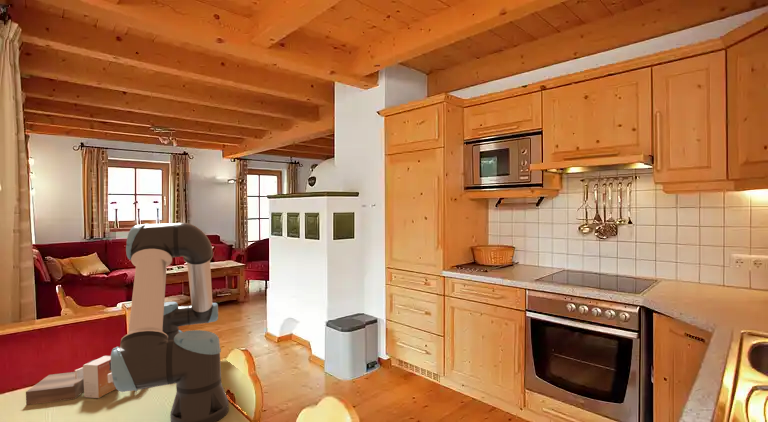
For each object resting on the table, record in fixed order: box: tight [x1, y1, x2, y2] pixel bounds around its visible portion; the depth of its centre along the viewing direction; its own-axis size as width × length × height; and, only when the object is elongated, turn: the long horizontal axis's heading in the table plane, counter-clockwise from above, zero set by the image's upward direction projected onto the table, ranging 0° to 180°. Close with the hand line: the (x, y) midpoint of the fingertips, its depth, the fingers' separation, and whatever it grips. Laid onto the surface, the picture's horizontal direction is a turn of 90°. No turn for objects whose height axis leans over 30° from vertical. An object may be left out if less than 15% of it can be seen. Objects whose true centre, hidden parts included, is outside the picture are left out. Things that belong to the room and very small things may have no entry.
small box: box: [82, 355, 117, 399], centre depth 132 cm, size 8×6×10 cm
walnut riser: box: [25, 371, 84, 406], centre depth 133 cm, size 13×13×4 cm
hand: (91, 376), depth 129 cm, fingers open, 13 cm apart
